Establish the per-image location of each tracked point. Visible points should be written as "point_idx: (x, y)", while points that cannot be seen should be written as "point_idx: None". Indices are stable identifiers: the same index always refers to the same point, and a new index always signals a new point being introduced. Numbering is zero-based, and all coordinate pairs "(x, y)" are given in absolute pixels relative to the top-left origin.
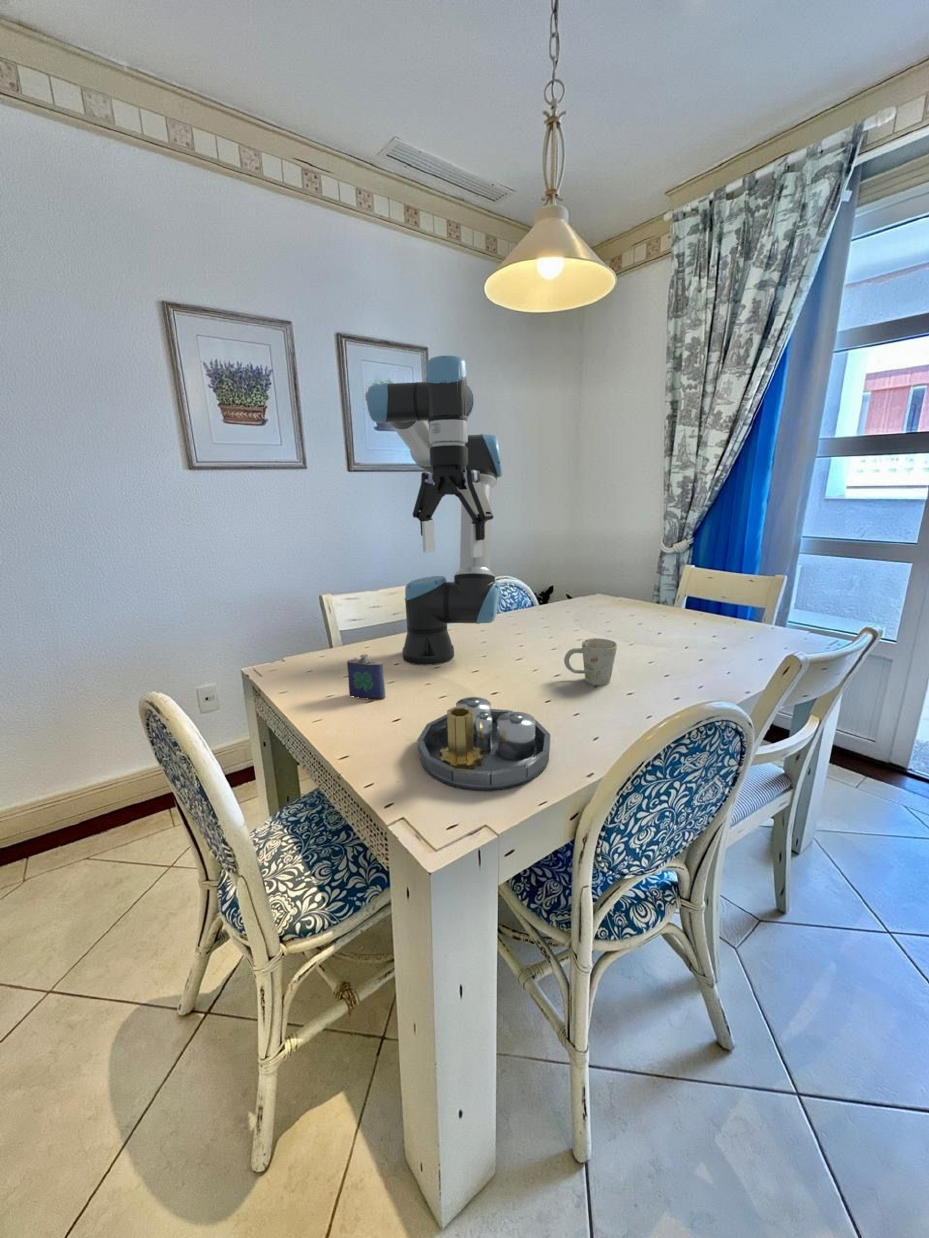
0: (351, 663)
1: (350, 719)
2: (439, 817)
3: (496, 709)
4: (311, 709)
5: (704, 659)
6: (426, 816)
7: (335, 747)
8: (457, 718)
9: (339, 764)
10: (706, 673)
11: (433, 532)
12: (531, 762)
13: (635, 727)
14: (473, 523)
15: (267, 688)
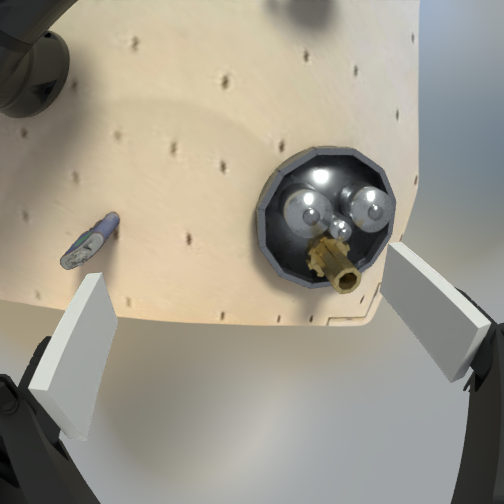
0: (74, 267)
1: (148, 276)
2: (349, 300)
3: (300, 158)
4: None
5: None
6: (341, 306)
7: (198, 313)
8: (353, 290)
9: (230, 322)
10: None
11: (72, 337)
12: (391, 226)
13: (414, 68)
14: (469, 383)
15: (21, 301)
